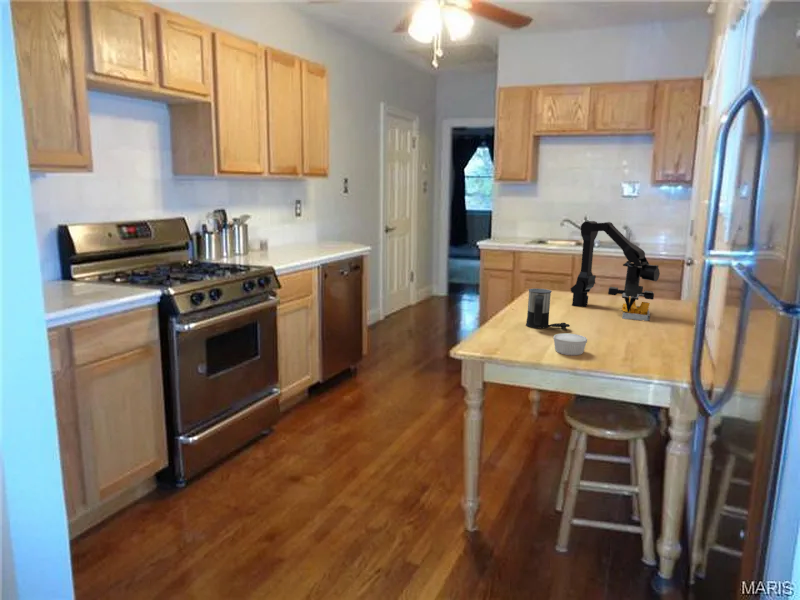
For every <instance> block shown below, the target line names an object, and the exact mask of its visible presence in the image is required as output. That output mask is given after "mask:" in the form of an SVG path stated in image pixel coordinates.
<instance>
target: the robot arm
mask: <svg viewBox="0 0 800 600" xmlns="http://www.w3.org/2000/svg"><path fill="white" fill-rule="evenodd" d="M599 232H604V233H605V234H606V235H607V236H608V237H609V238H610V239H611V240H612V241H613V242H614V243H615V244H616V245H617V246H618V247H619V248H620V249H621V251H622V252H623V255H624V257H625V258H626V260H627V261H626V262H625V263H623V264H622V267H626V276H625V282H624V289H619V287H615V286H609V288H608V291H607V294H608V295H609V296H610V295H611V296H617V295H619V294H620V295H621V298H622V299H624V301H625V304H626V305H627V312H629V310H630V308H631V306H632V304H633V303H634V301H635V302H636V300H639V297H644V298H645V300H652V301H653V300H655V299H654V297H655V293H654V291H651V290H644V291H643V289H644V286H641V285H640V279H642V280H646V281H651V282H657V281H658V280H659V278H660V275H661V274H660V269H659V264H650V263H649V261H648V259H647V257H646V252H645V251H644V250H643V249H642V248H641V247H639V246H638V245H636V244H634V243H632V242H631V241H630V240H629V239H628V238H627V237H626V236H625V235H624V234H623V233H622V232H621V231H619V229H618V228H616V226H615V225H614V224H613V223H612V222H611V221H607V222H597V221H595V220H590V221H584V222H582V223H581V224H580V235H581V237H582V241H583V242H582V253H581V265H580V267H581V268H580V271H579V273H578V276H577V277H576V282H575V284H574V285H572V286H571V287H570V292H571V293H572V303H571V306H573V307H582V306H583V307H585V308H586V307H587V306H588V304H589V303H588V302H589V295H588V293H590V291H591V289H592V288H594V285H595V284H596V276H597V275H595V274H593V271H592V269H593V268H592V267H593V258H594V245H595V240H596V238H597V236H598V233H599ZM629 297H631V298H630V302H629ZM627 312H626V313H627Z"/></svg>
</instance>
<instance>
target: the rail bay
mask: <svg viewBox="0 0 800 600" xmlns="http://www.w3.org/2000/svg"><path fill="white" fill-rule="evenodd" d="M622 307H623V304H622V305H621V308H622ZM636 307H637V308H639V307H640V305H636ZM649 309H650V308H648V312H647V315H644V314H634V313H627V312H622V316H621V317H622V319H624V320H632V319H633V321H635V320H636V321H642V320H644V322H650V320H651V313H650V310H649Z"/></svg>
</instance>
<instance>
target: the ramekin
mask: <svg viewBox="0 0 800 600" xmlns="http://www.w3.org/2000/svg"><path fill="white" fill-rule="evenodd" d="M553 343H554V350H555V352H557V353H558V354H561V355H566V356H580V355H582V354H583V353H584V352H585V348H586V344H587V343H588V338H587V337H585V336H583V335H580V334H575V333H569V332H568V333H557V334H554V335H553Z"/></svg>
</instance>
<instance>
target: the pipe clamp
mask: <svg viewBox="0 0 800 600" xmlns="http://www.w3.org/2000/svg"><path fill="white" fill-rule="evenodd" d="M630 298H631V296H629V302H630ZM622 305H623V307H622V306H621V311H623V312H624V313H634V314H644V315H647V312H648V309H650V308H649V307H650V302H647V301H646V302H645V301H641V303H640V305H639V306H640V307H639V308H637V307H636V306H637V304H636V300H635V301H634V303H633V304H632V306H631V308H630V310H629V312H627V305H626V303H625V302H624V303H622Z"/></svg>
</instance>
